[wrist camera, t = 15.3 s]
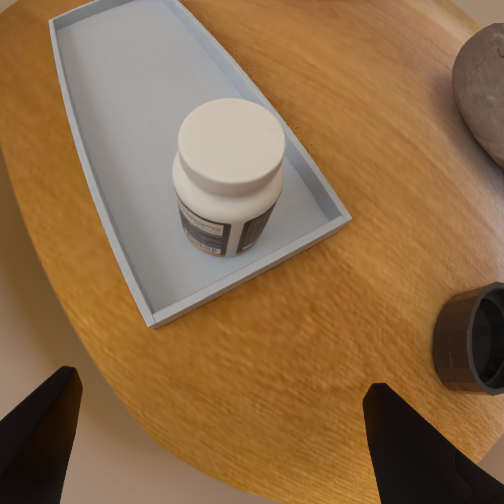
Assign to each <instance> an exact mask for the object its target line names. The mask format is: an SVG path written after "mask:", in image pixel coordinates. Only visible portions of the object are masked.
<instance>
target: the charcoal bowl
mask: <svg viewBox="0 0 504 504" xmlns="http://www.w3.org/2000/svg"><path fill="white" fill-rule="evenodd" d="M433 351H434V352H433V354H434V360H435V366H436V370H437V372H438V374H439V376H440V378H441V381H442V382H443V383H444V384H445V385H446V386H447V387H448V388H449V389H450V390H452V391H455V392H457V393H462V394H476V395H492V396H494V395H498V394H503V393H504V283H500V282H494V283H491V284H488V285H484V286H481V287H478V288H475V289H472V290H468V291H465V292H462V293H460V294H457V295H455V296H453V297H452V298H451V299H450V300H449V301H448V302H447V303H446V305H445V306H444V308H443V309H442V311H441V313H440V315H439V317H438V320H437V324H436V327H435V331H434V343H433Z"/></svg>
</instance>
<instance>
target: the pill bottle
mask: <svg viewBox="0 0 504 504" xmlns="http://www.w3.org/2000/svg"><path fill="white" fill-rule="evenodd" d="M285 150H286V138H285V133H284V130H283V128H282V126H281V124H280V122H279V121H278V119H277V118H276V117H275V116H274V115H273V114H272V113H271V112H270V111H268V110H267V109H266V108H264V107H262V106H261V105H259V104H256V103H254V102H251V101H247V100H244V99H237V98H224V99H217V100H213V101H210V102H207V103H205V104H203V105H201V106H199V107H197V108H196V109H194V110H193V111H192V112H191V113H190V114H189V115H188V116H187V117H186V118H185V120H184V121H183V123H182V125H181V127H180V130H179V134H178V151H177V153H176V156H175V159H174V162H173V167H172V181H173V185H174V189H175V194H176V198H177V203H178V208H179V213H180V218H181V222H182V226H183V230H184V232H185V235H186V236H187V238H188V240H189V241H190V242H191V244H192V245H193V246H194V247H195V248H197V249H198V250H200V251H201V252H203V253H205V254H207V255H210V256H214V257H218V258H228V257H234V256H237V255H240V254H242V253H244V252H246V251H247V250H249V249H250V248H251V247H252V246H254V244H255V243H256V242H257V241H258V239H259V237H260V236H261V234H262V232H263V230H264V228H265V226H266V224H267V222H268V220H269V218H270V215H271V213H272V211H273V209H274V207H275V205H276V203H277V200H278V198H279V196H280V194H281V191H282V188H283V182H284V170H283V165H282V161H283V157H284V154H285Z"/></svg>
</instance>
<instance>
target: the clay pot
mask: <svg viewBox="0 0 504 504" xmlns="http://www.w3.org/2000/svg"><path fill="white" fill-rule="evenodd" d="M452 85H453V93H454V98H455V101H456V103H457V106H458V108H459V110H460V113H461V115H462V117H463V119H464V120H465V122H466V124H467V126H468V128H469V129H470V131H471V133H472V134H473V136H474V137H475V139H476V140H477V142H478V143H479V144H480V145H481V147H482V148H483V149H484V150H485V151H486V152H487V153H488V154H489V155H490V156H491V157H492V158H493V160H494V161H495V162H496V163H497V164H498V165H500V166H501V167H502V168H503V169H504V23H494V24H492V25H490V26H487V27H485V28H484V29H482V30H480V31H479V32H477V33H476V34H475V35H474V36H473V37H471V38H470V39H469V40H468V41H467V42H466V43H465V44H464V45H463V47H462V48H461V49H460V51H459V53H458V55H457V57H456V60H455V63H454V66H453V73H452Z"/></svg>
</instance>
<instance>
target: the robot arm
mask: <svg viewBox="0 0 504 504" xmlns="http://www.w3.org/2000/svg"><path fill="white" fill-rule="evenodd" d="M82 390H83V387H82V382H81V380H80V377H79V375H78V372H77V370H76V368H74V367H70V366H62V367H61V368H59V369H58V370H57V371H56V372H55V373H54V374H52V375H51V376H50V377H49V378H48V379H47V380H46V381H44V382H43V383H42V384H41V385H40V386H39V387H38V388H36V389H35V390H34V391H33V392H32V393H31V394H30V395H29V396H27V397H26V398H25V399H24V400H23V401H22V402H21V403H20V404H19V405H17V406H16V407H15V408H14V409H13V410H12V411H11V412H10V413H9V414H7V415H6V416H5V417H4V418H3V419H2V420H1V421H0V504H60V499H61V494H62V489H63V484H64V480H65V475H66V471H67V466H68V462H69V457H70V454H71V450H72V446H73V442H74V438H75V433H76V428H77V421H78V415H79V409H80V402H81V397H82ZM363 411H364V419H365V426H366V434H367V441H368V447H369V451H370V456H371V460H372V464H373V468H374V473H375V477H376V481H377V486H378V490H379V495H380V500H381V504H504V485H503V484H502V483H500V482H499V481H498V480H496V479H495V478H493V477H492V476H491V475H489V474H488V473H486V472H485V471H484V470H482V469H481V468H480V467H478V466H477V465H476V464H474V463H473V462H472V461H471V460H470V459H468V458H467V457H466V456H465V455H464V454H463V453H462V452H461V451H459V450H458V449H457V448H456V447H455V446H454V445H453V444H452V443H450V442H449V441H448V440H447V439H446V438H445V437H444V436H443V435H442V434H441V433H440V432H438V431H437V430H436V429H435V428H434V427H433V426H432V425H431V424H430V423H429V422H427V421H426V420H425V419H424V418H423V417H422V416H421V415H420V414H419V413H418V412H417V411H415V410H414V409H413V408H412V407H411V406H410V405H409V404H408V403H407V402H406V401H404V400H403V399H402V398H401V397H400V396H399V395H398V394H397V393H396V392H395V391H394V390H392V389H391V388H390V387H389V386H388V385H387V384H386V383H374V384H372V385H371V387H370V388H369V390H368V392H367V393H366V395H365V397H364V399H363Z"/></svg>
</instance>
